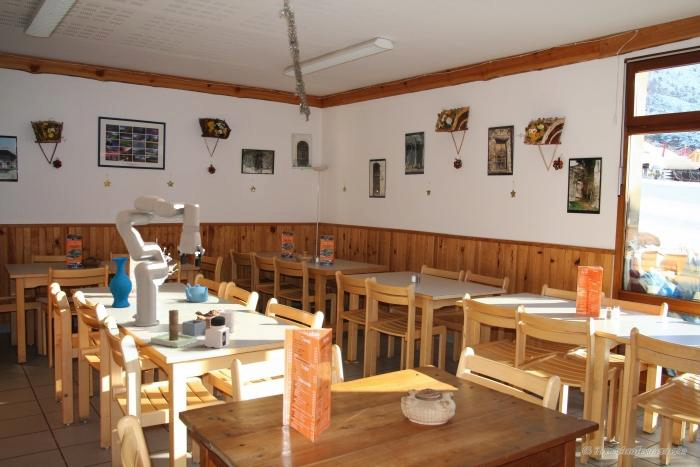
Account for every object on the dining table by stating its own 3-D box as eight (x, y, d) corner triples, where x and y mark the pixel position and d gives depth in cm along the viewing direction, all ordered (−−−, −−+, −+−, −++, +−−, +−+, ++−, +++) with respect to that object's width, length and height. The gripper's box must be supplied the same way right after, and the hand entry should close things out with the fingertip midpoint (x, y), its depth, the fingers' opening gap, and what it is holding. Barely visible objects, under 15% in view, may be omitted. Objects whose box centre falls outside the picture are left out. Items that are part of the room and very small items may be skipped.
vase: (136, 306, 351) (136, 258, 349) (118, 309, 340) (117, 259, 338) (123, 303, 357) (123, 256, 355) (104, 306, 347) (104, 258, 345)
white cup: (231, 334, 288) (231, 313, 287) (216, 332, 290) (216, 312, 289) (238, 330, 296) (238, 310, 295) (222, 329, 297) (223, 309, 297)
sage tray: (150, 342, 269) (150, 337, 269) (170, 337, 279) (170, 332, 279) (177, 347, 261) (177, 342, 261) (196, 342, 272) (196, 337, 272)
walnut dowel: (167, 339, 270) (167, 311, 269) (173, 338, 273) (173, 309, 272) (173, 341, 268) (173, 312, 267) (180, 339, 271) (180, 310, 270)
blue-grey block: (182, 334, 284) (182, 322, 284) (193, 331, 291) (194, 319, 291) (194, 337, 281) (194, 324, 280) (205, 333, 287) (206, 321, 287)
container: (229, 344, 268) (229, 315, 267) (220, 348, 261) (220, 319, 260) (214, 342, 271) (214, 314, 270) (204, 347, 264) (205, 317, 263)
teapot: (210, 299, 379) (211, 282, 378) (208, 303, 364) (208, 286, 364) (186, 299, 377) (186, 282, 376) (183, 303, 362) (183, 286, 362)
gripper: (172, 228, 287) (171, 264, 289) (198, 231, 278) (197, 268, 280) (184, 228, 294) (183, 262, 295) (210, 230, 285) (209, 266, 286)
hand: (190, 265), depth 287 cm, fingers open, 9 cm apart
